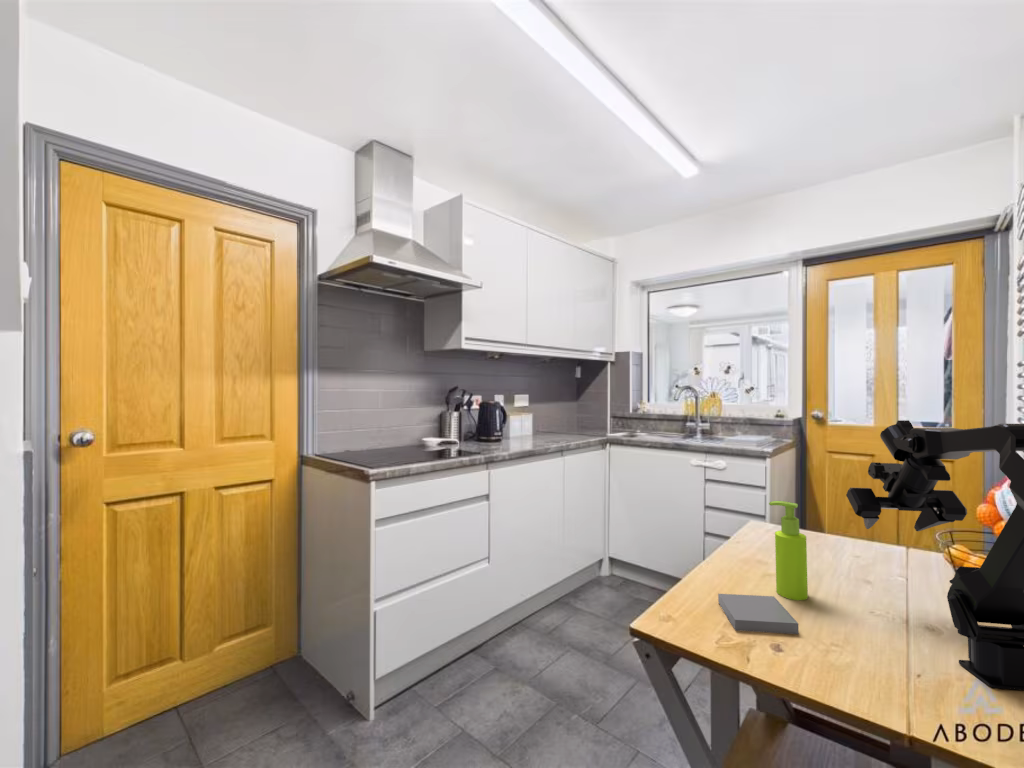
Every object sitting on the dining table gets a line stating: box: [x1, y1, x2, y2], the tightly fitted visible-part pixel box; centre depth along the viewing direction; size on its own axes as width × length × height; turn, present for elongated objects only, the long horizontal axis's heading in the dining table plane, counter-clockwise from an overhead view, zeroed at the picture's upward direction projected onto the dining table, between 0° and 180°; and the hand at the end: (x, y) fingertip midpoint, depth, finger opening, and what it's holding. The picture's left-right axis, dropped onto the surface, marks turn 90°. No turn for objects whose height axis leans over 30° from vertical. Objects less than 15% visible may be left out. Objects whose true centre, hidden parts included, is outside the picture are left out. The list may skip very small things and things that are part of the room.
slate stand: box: [717, 593, 799, 635], centre depth 91 cm, size 11×11×2 cm
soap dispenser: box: [768, 500, 809, 601], centre depth 101 cm, size 6×7×20 cm
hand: (891, 528), depth 99 cm, fingers open, 9 cm apart
